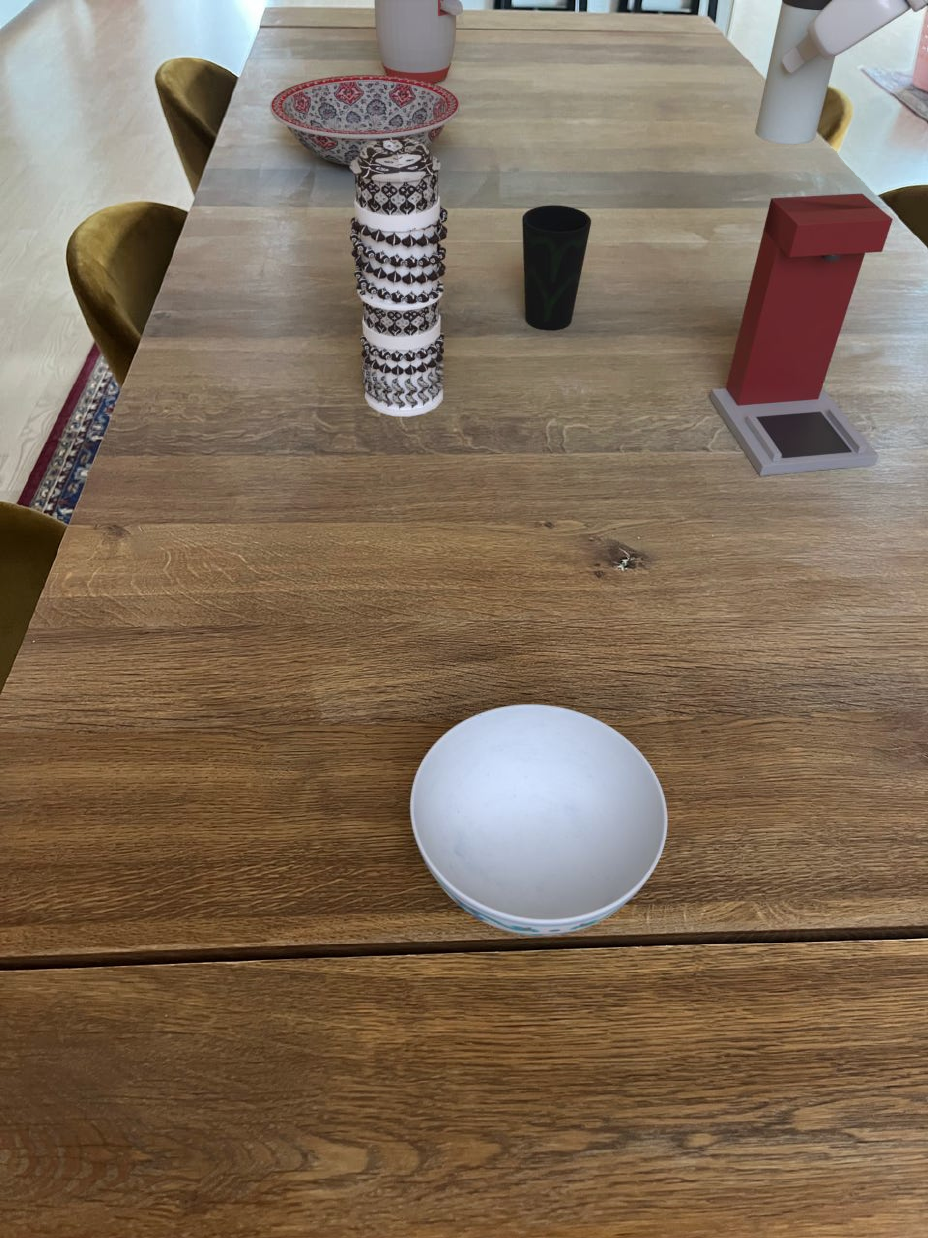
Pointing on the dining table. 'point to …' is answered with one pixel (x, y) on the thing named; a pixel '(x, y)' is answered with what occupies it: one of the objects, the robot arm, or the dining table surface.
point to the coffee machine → (799, 335)
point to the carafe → (793, 80)
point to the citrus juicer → (416, 37)
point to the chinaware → (538, 818)
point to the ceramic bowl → (362, 113)
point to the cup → (553, 263)
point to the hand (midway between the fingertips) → (796, 55)
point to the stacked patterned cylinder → (399, 274)
